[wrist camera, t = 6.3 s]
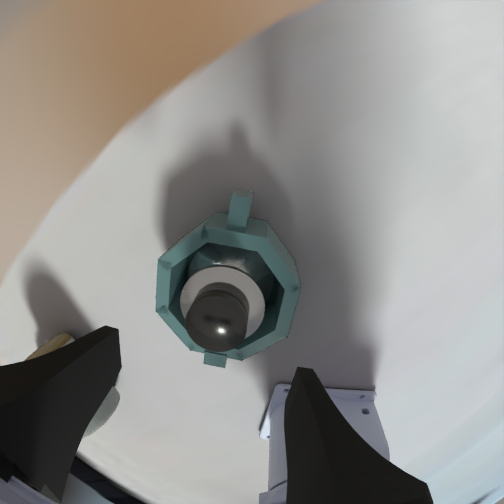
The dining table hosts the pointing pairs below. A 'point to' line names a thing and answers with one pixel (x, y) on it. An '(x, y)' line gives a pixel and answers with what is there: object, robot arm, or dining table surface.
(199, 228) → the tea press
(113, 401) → the ceramic mug
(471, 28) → the dining table surface
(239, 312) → the black and white knob
